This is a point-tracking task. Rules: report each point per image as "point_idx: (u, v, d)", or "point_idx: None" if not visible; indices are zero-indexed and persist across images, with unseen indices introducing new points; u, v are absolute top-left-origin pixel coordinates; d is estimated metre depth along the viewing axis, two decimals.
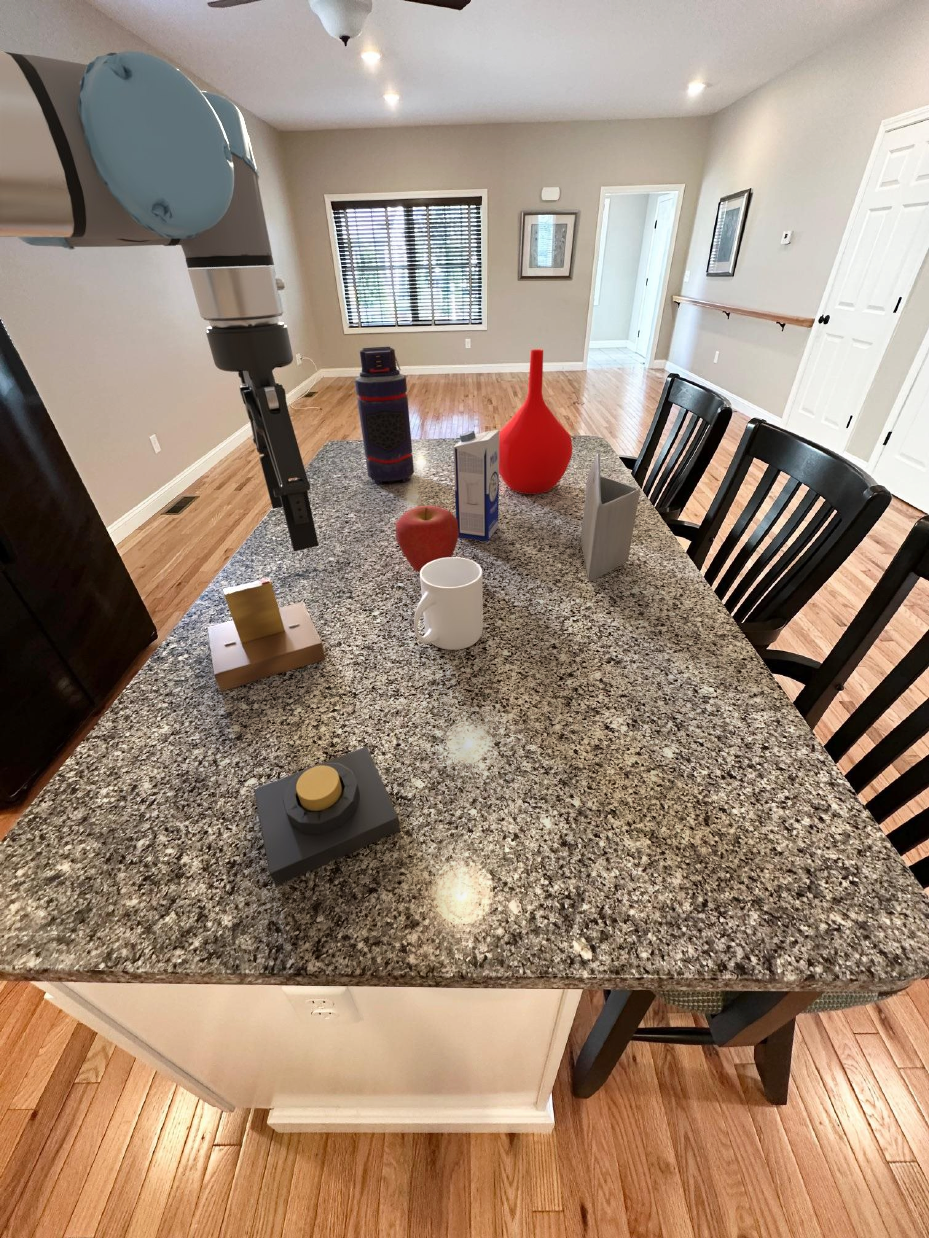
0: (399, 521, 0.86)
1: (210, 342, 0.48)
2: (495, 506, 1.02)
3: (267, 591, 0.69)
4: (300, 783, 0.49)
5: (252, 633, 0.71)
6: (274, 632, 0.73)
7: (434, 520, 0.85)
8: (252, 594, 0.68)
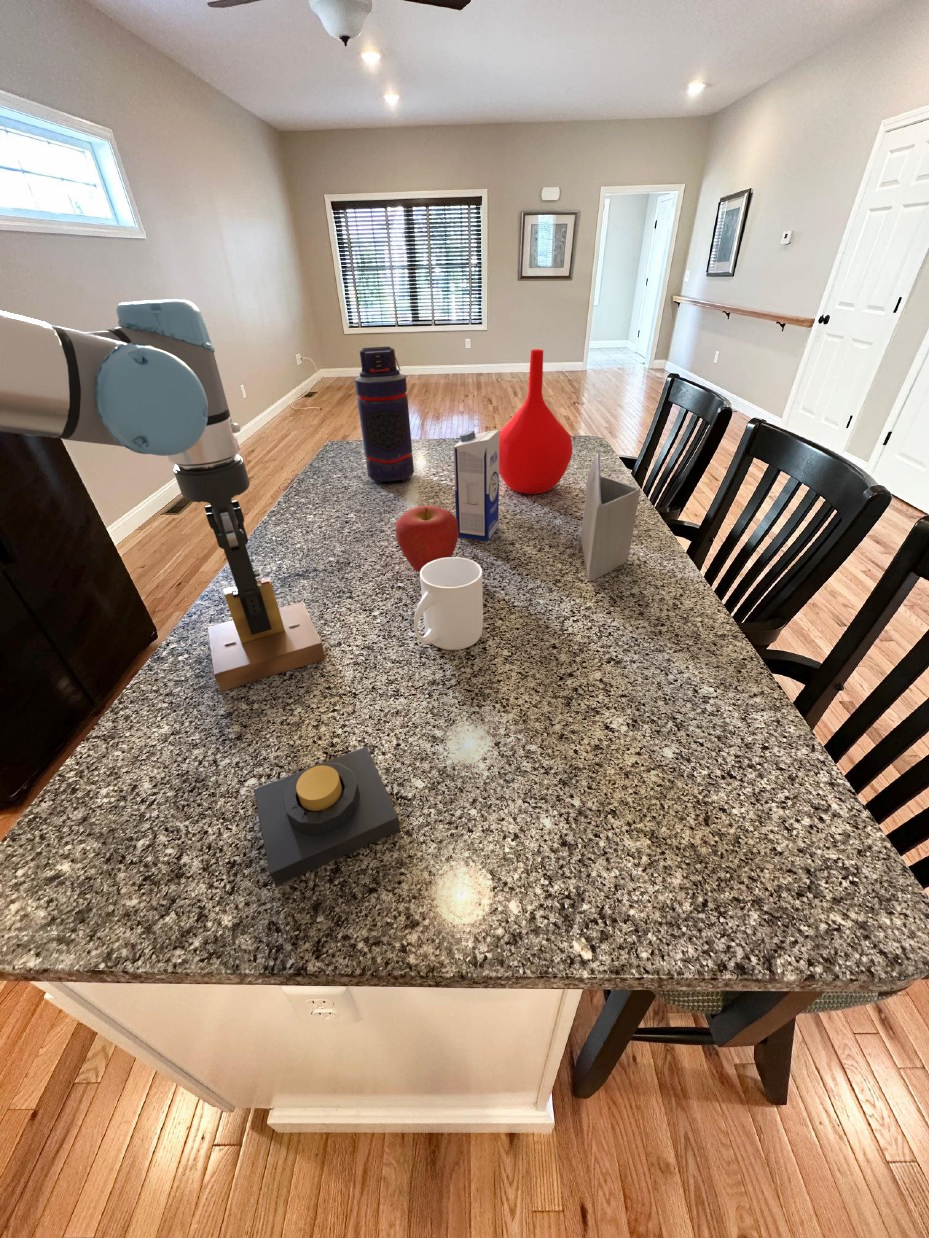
0: (399, 521, 0.86)
1: (176, 479, 0.57)
2: (495, 506, 1.02)
3: (267, 591, 0.69)
4: (300, 783, 0.49)
5: None
6: (274, 632, 0.73)
7: (434, 520, 0.85)
8: None
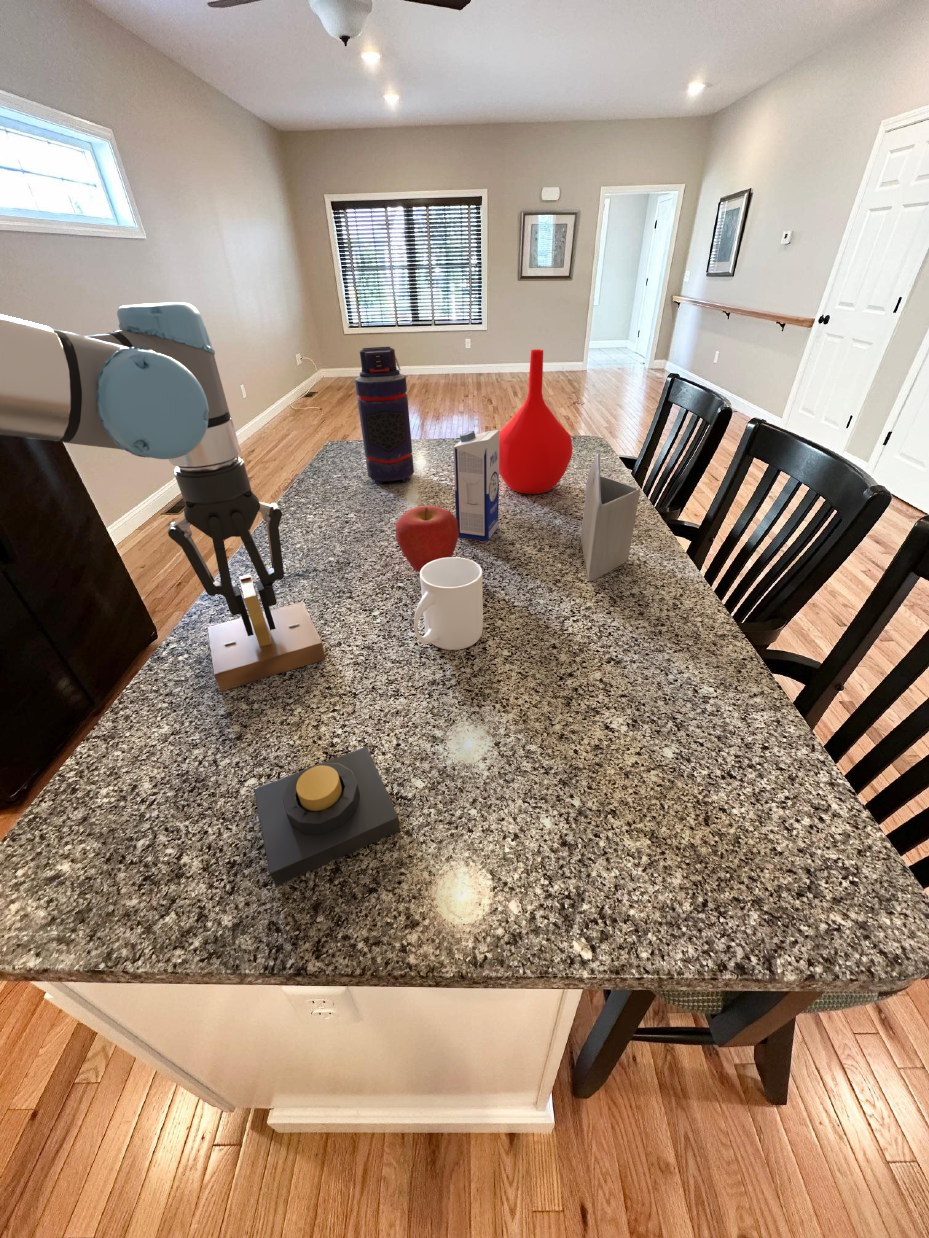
0: (399, 521, 0.86)
1: (221, 481, 0.57)
2: (495, 506, 1.02)
3: (253, 584, 0.71)
4: (300, 783, 0.49)
5: None
6: None
7: (434, 520, 0.85)
8: None
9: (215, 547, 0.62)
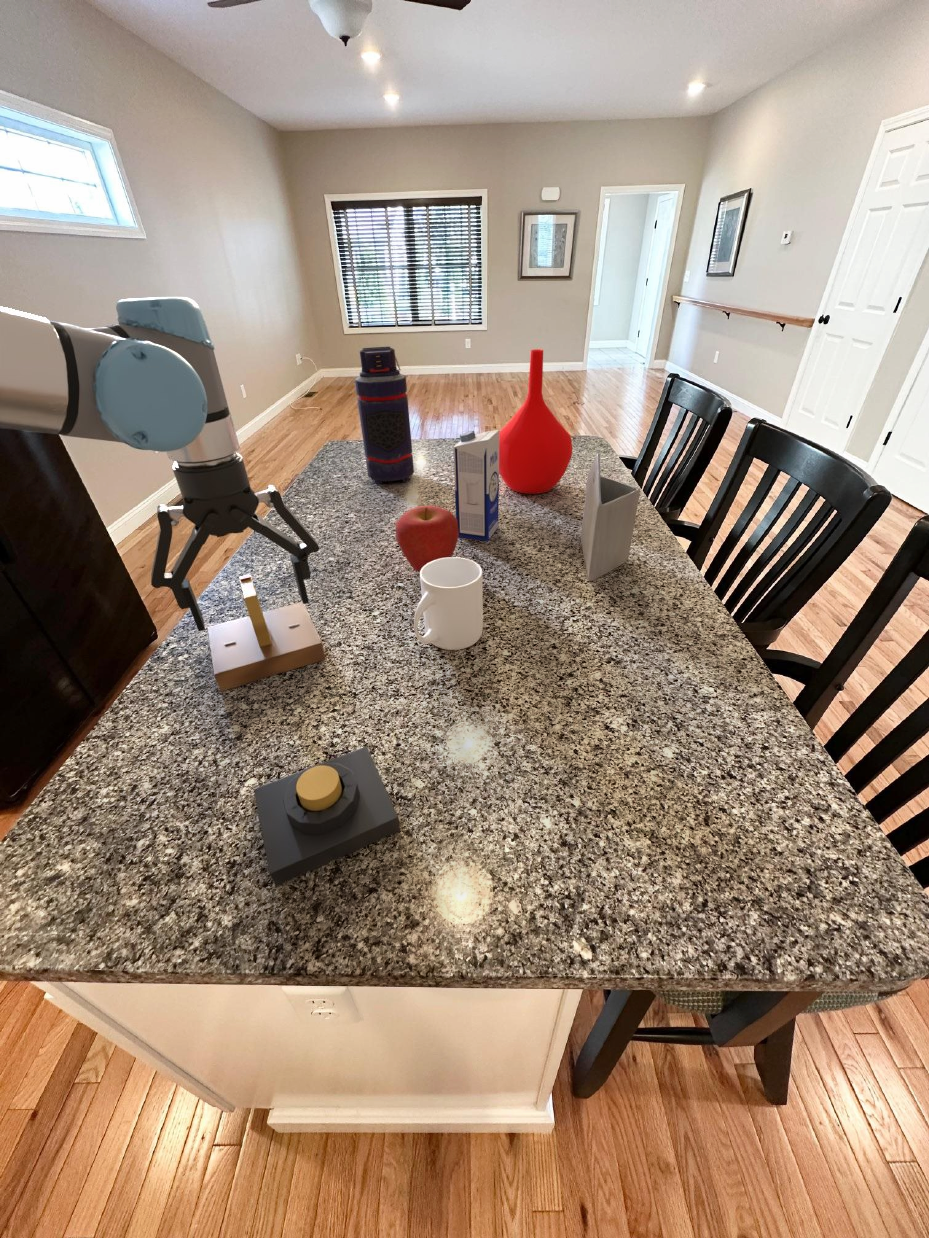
0: (399, 521, 0.86)
1: (220, 477, 0.57)
2: (495, 506, 1.02)
3: (253, 584, 0.71)
4: (300, 783, 0.49)
5: None
6: None
7: (434, 520, 0.85)
8: None
9: (196, 539, 0.61)
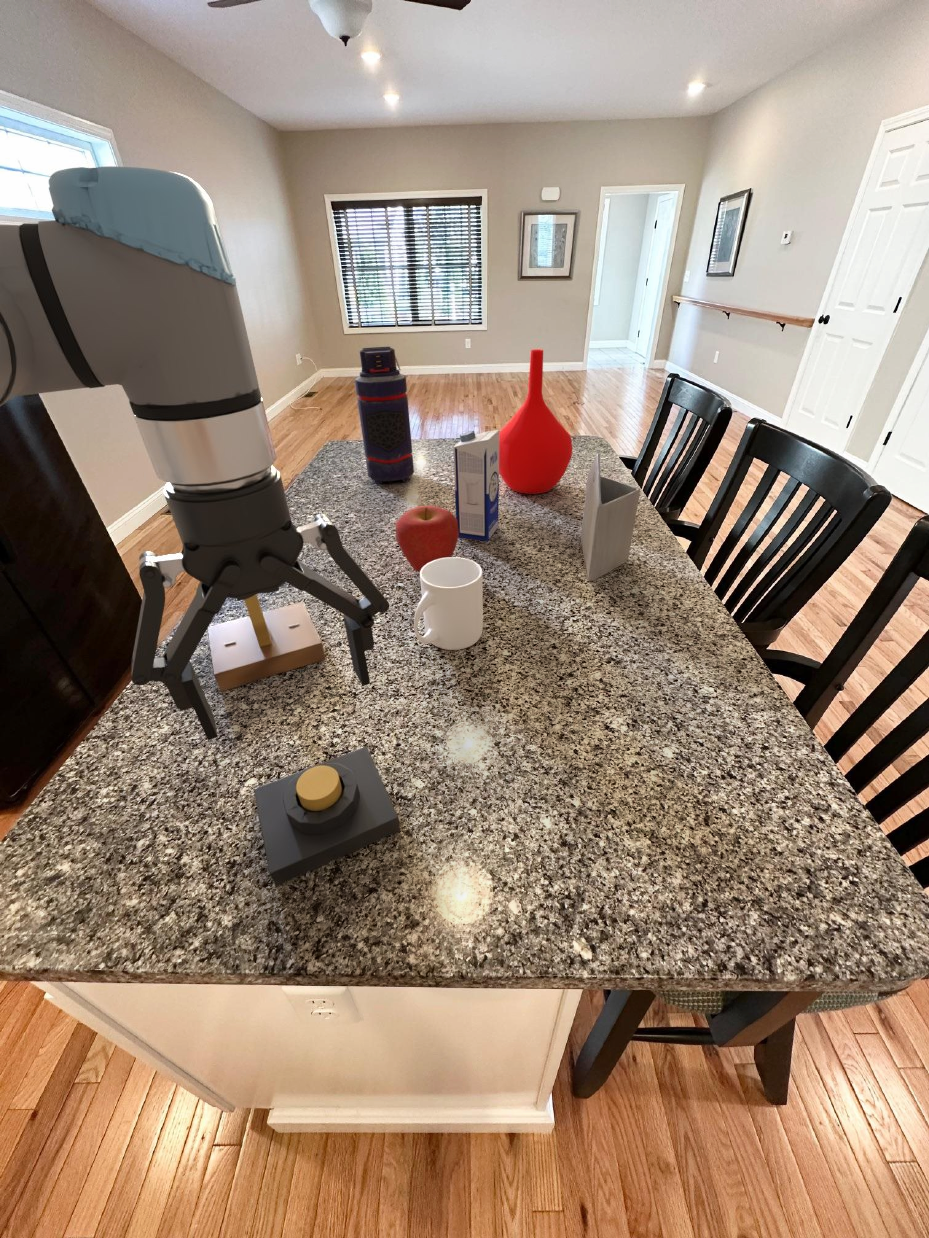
0: (399, 521, 0.86)
1: (247, 508, 0.33)
2: (495, 506, 1.02)
3: None
4: (300, 783, 0.49)
5: None
6: None
7: (434, 520, 0.85)
8: None
9: (204, 607, 0.37)
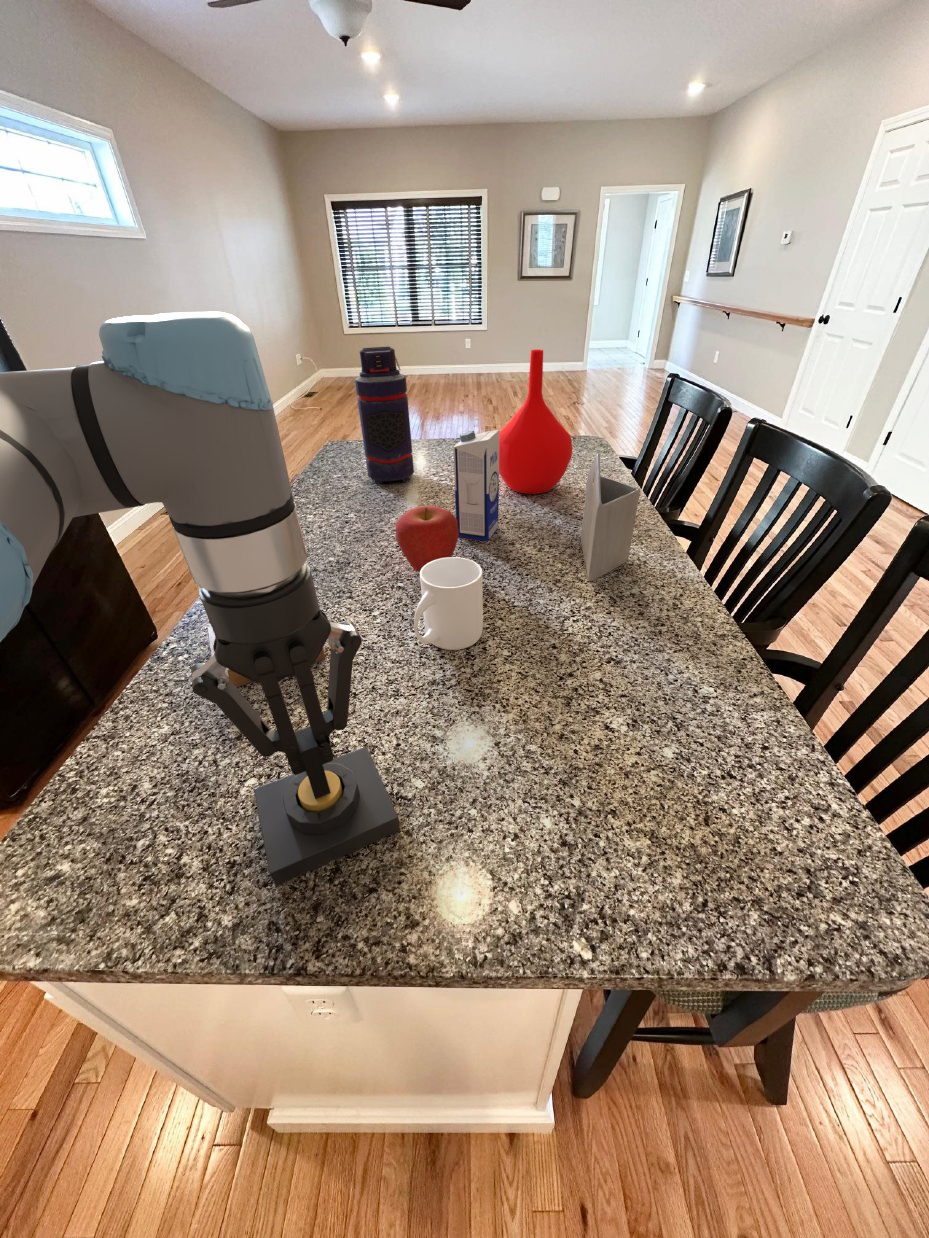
0: (399, 521, 0.86)
1: (280, 610, 0.34)
2: (495, 506, 1.02)
3: None
4: (302, 788, 0.49)
5: None
6: None
7: (434, 520, 0.85)
8: None
9: (267, 696, 0.39)
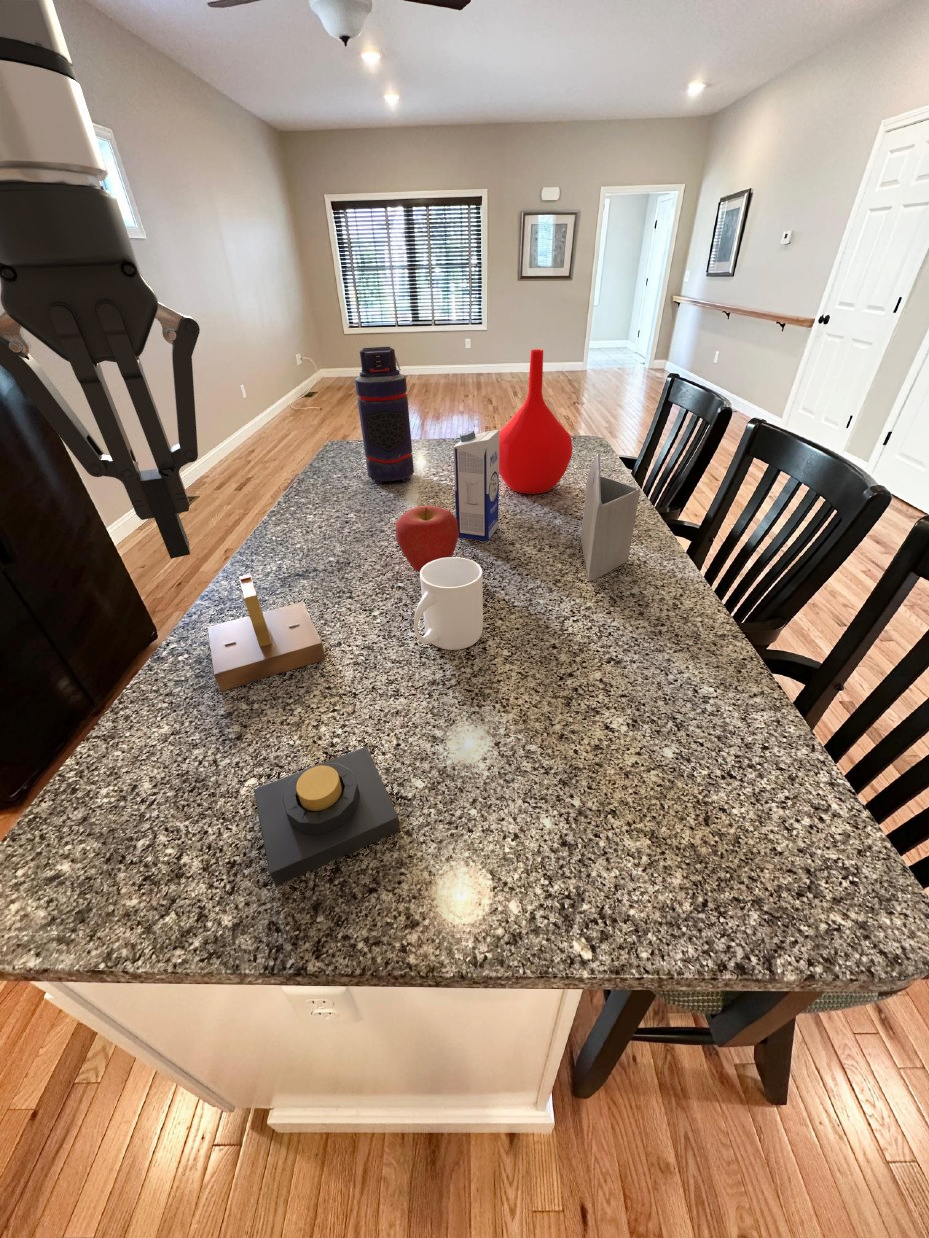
0: (399, 521, 0.86)
1: (58, 210, 0.28)
2: (495, 506, 1.02)
3: (253, 584, 0.71)
4: (300, 783, 0.49)
5: None
6: None
7: (434, 520, 0.85)
8: None
9: (79, 377, 0.33)
